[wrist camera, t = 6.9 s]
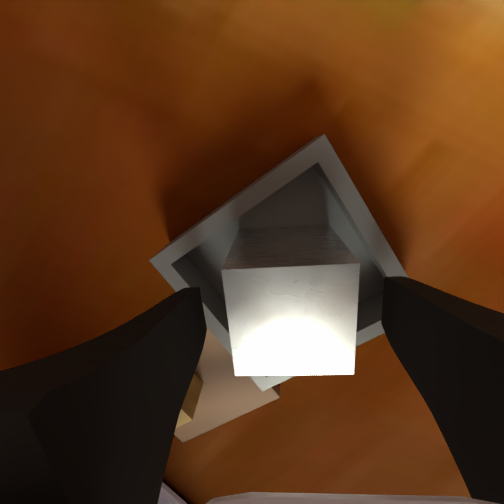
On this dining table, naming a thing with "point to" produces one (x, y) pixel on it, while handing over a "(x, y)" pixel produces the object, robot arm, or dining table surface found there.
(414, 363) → the robot arm
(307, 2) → the dining table surface
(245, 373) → the grey block
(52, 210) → the dining table surface
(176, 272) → the bin
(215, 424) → the stud plate
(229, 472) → the dining table surface
